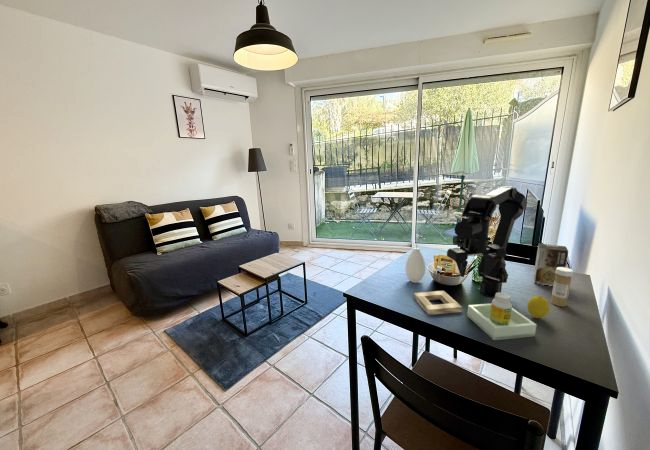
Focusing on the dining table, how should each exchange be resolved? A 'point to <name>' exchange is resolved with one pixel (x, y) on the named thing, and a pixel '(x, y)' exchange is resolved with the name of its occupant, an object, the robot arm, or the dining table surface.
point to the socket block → (430, 309)
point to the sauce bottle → (415, 265)
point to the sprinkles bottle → (561, 286)
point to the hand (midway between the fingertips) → (473, 275)
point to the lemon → (538, 307)
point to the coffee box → (549, 263)
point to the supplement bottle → (500, 309)
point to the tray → (515, 329)
